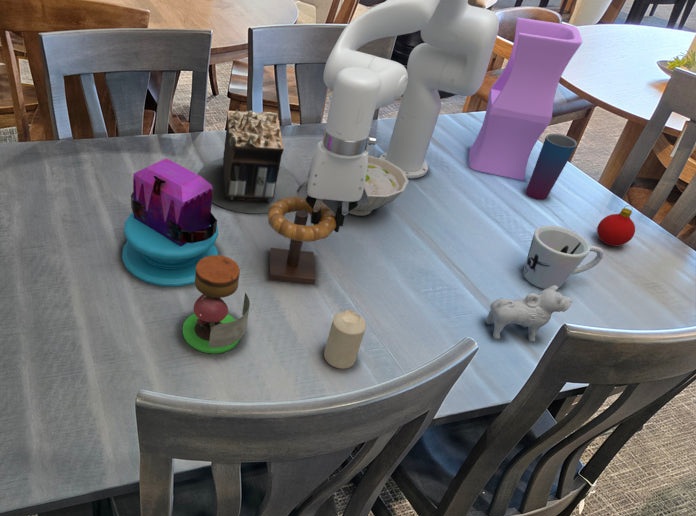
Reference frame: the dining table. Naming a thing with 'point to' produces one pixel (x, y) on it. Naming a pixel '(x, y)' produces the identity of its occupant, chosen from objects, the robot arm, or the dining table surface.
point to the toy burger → (215, 307)
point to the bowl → (381, 185)
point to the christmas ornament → (616, 228)
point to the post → (293, 259)
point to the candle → (344, 339)
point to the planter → (250, 165)
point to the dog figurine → (527, 310)
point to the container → (523, 97)
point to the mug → (557, 256)
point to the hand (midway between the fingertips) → (325, 226)
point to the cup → (550, 165)
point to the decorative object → (169, 225)
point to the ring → (300, 231)
